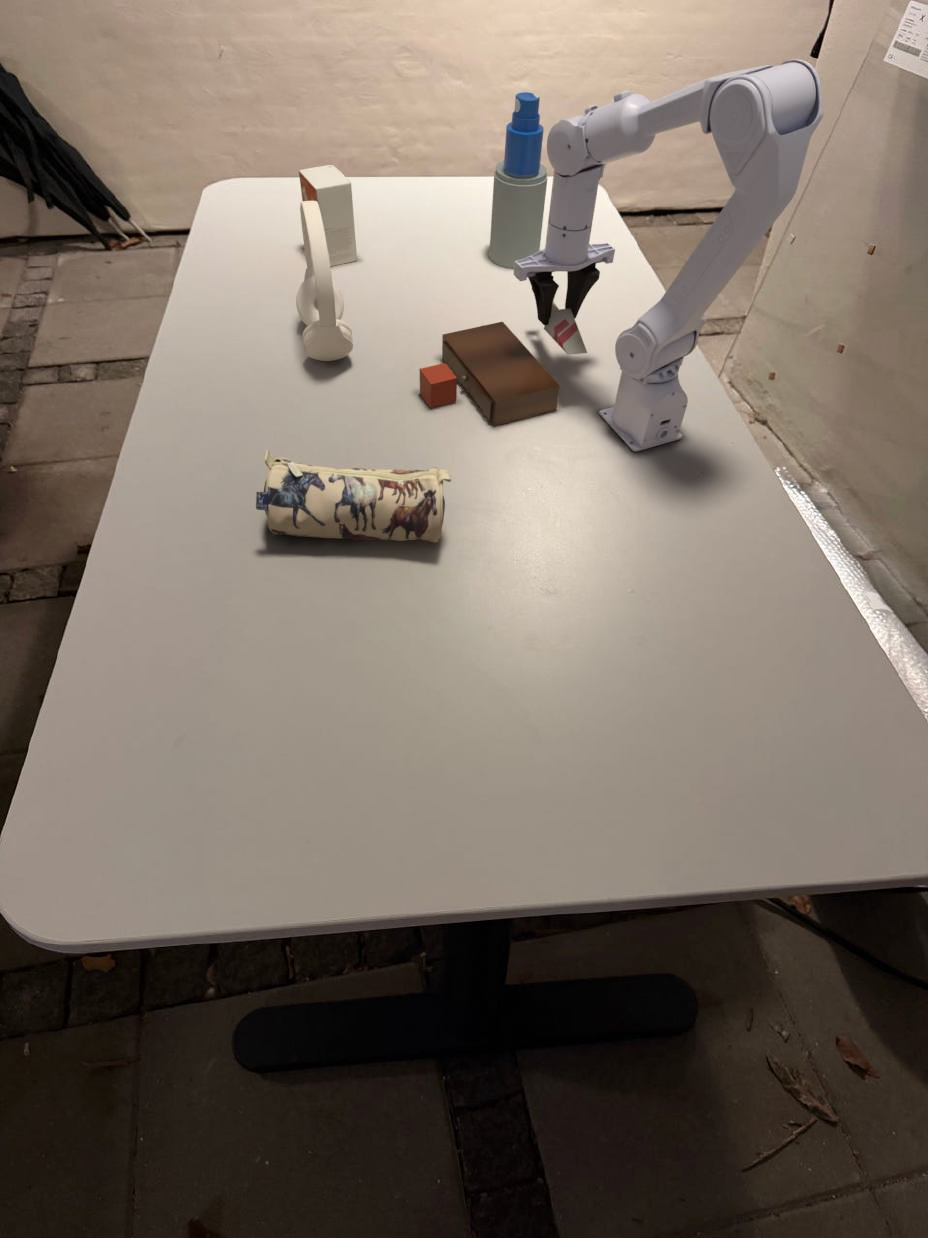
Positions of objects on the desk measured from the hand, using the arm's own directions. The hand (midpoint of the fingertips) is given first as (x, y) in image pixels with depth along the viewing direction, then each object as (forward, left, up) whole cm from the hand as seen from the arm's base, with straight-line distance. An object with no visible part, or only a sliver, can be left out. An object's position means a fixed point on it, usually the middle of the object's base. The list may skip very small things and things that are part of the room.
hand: (557, 318), depth 111 cm
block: (-1, +17, -6) cm, 18 cm away
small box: (+45, +19, -8) cm, 50 cm away
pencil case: (-22, +38, -8) cm, 45 cm away
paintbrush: (0, 0, -2) cm, 2 cm away
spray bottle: (+33, -11, -8) cm, 36 cm away
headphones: (+18, +29, -8) cm, 35 cm away
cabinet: (-1, +9, -8) cm, 12 cm away
